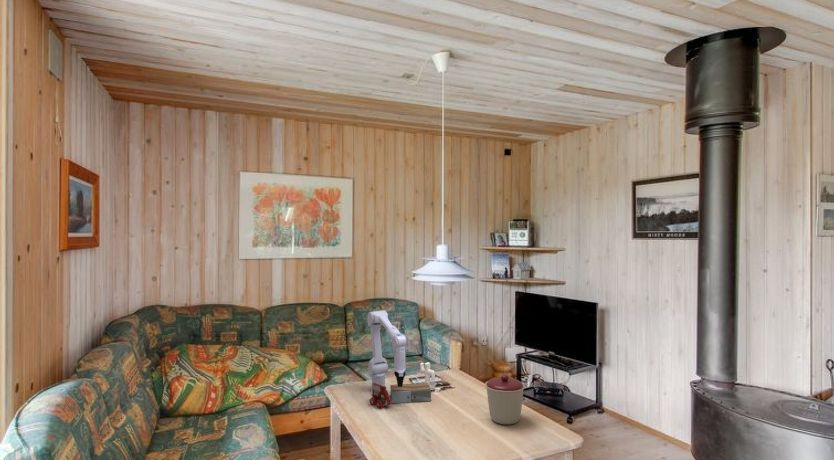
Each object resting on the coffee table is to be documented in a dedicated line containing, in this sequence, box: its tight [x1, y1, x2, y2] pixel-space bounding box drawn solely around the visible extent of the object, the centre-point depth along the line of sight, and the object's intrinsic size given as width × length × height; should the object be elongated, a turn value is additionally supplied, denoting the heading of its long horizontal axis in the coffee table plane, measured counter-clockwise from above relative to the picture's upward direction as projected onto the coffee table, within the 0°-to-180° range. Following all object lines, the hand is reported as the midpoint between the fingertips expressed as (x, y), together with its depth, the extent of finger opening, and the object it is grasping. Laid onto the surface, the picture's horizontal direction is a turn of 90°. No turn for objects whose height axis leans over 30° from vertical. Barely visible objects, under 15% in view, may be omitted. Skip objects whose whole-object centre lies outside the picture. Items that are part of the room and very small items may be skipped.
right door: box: [391, 391, 412, 404], centre depth 237 cm, size 2×10×6 cm, turn 98°
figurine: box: [419, 361, 438, 391], centre depth 256 cm, size 7×9×15 cm
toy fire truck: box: [369, 383, 392, 410], centre depth 234 cm, size 7×12×10 cm, turn 44°
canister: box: [484, 373, 526, 426], centre depth 214 cm, size 18×18×21 cm
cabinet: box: [389, 382, 432, 403], centre depth 242 cm, size 12×20×6 cm, turn 97°
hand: (399, 386), depth 235 cm, fingers closed
